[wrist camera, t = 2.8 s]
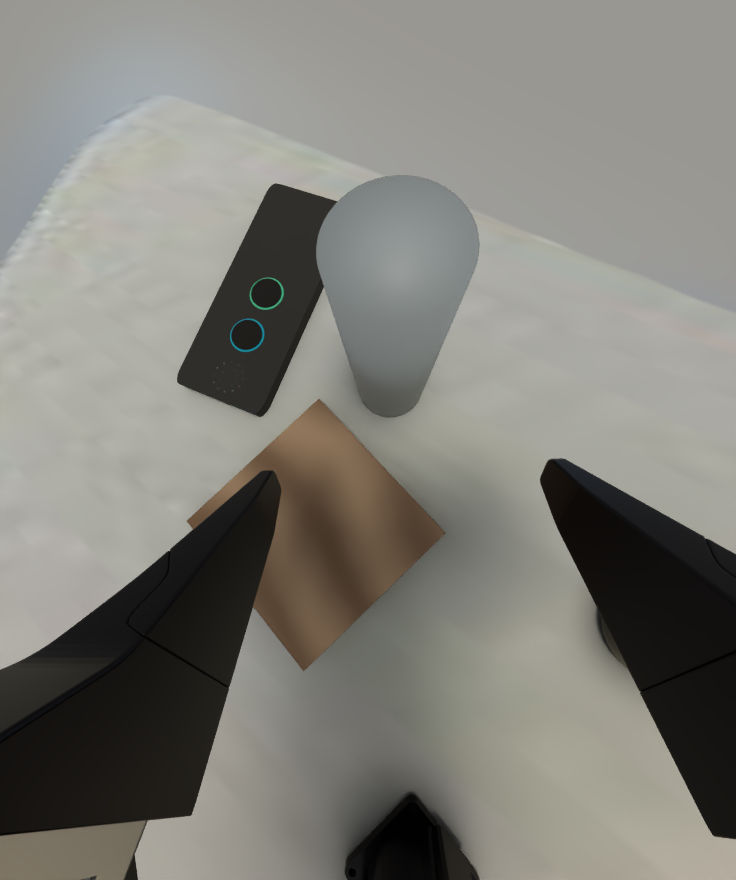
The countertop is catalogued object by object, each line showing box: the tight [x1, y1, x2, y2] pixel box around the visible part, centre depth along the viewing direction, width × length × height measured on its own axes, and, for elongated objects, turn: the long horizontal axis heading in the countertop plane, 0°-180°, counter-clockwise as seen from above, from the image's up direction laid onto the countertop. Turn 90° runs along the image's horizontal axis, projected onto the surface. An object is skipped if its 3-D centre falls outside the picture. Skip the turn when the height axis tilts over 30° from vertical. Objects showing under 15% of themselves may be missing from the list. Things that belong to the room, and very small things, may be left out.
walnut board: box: [187, 399, 445, 671], centre depth 21 cm, size 14×14×1 cm
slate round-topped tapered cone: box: [316, 175, 479, 417], centre depth 16 cm, size 5×5×14 cm
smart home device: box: [177, 184, 337, 417], centre depth 24 cm, size 8×2×20 cm
